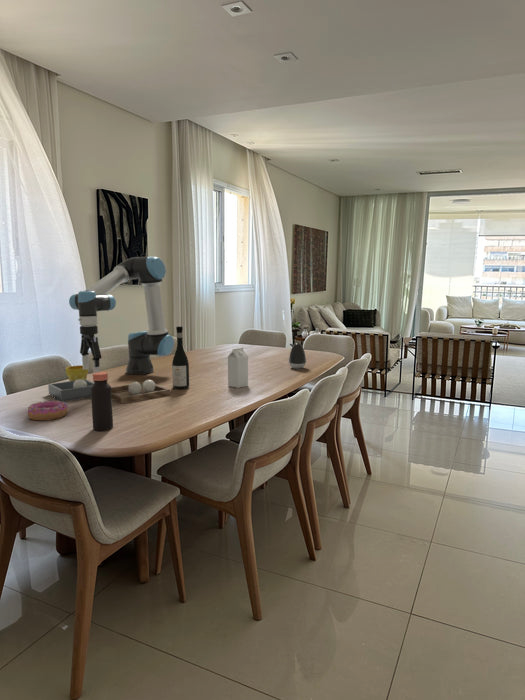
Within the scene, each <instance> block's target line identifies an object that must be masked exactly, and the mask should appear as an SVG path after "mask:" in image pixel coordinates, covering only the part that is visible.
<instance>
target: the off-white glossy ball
mask: <svg viewBox="0 0 525 700" xmlns="http://www.w3.org/2000/svg"><path fill="white" fill-rule="evenodd" d="M86 386H87V383H86V382H85V381H84V380H82V379H78V380H76V381H75V382H74V384H73V388H79V387H86Z"/></svg>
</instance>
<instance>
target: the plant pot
mask: <svg viewBox="0 0 525 700" xmlns="http://www.w3.org/2000/svg"><path fill="white" fill-rule="evenodd" d="M88 374H89V369H85V370H83V364H81V365H69V366H67V367H65V375H66V376H67V377H68V381H75V380H78V379H86V380H88V379H87V377H88Z"/></svg>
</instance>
